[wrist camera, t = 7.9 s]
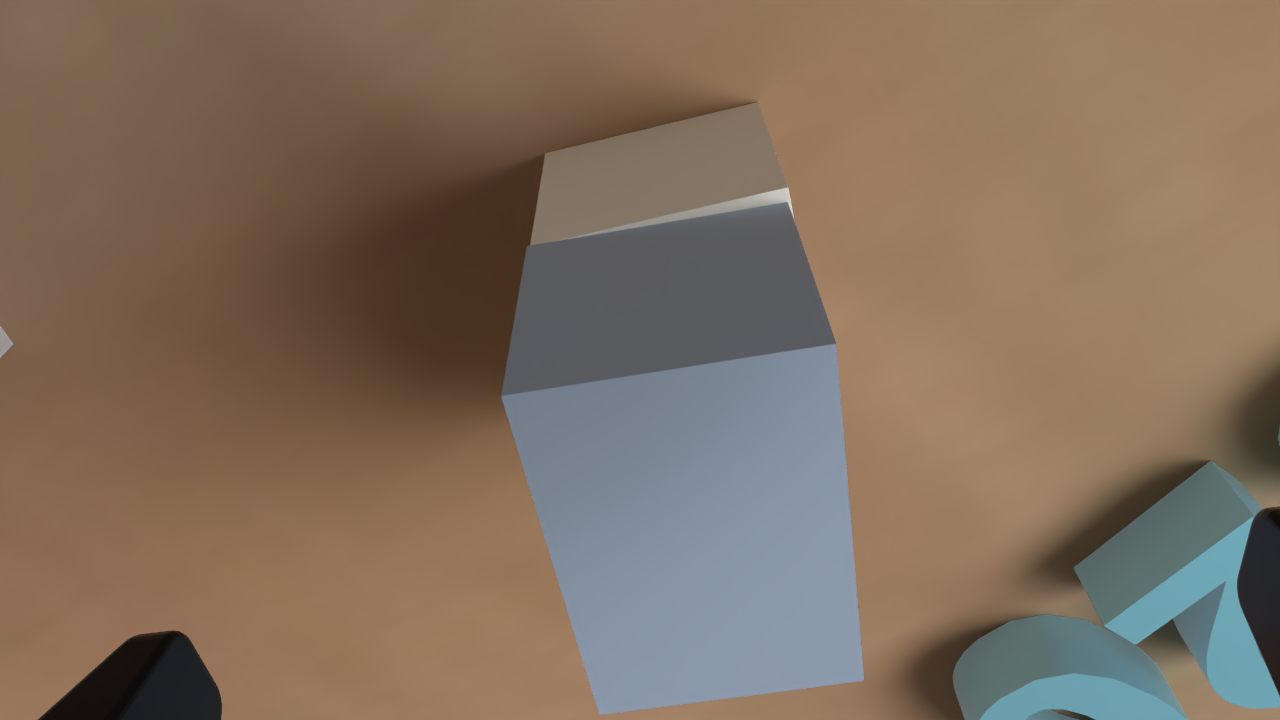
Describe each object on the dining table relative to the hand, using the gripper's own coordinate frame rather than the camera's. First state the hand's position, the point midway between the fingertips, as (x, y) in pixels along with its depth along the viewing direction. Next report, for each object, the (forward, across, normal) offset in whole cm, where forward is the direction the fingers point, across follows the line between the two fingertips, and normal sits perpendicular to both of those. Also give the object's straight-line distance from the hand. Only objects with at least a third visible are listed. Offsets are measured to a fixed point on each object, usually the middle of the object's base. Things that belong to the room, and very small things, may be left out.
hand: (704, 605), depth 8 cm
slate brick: (+8, 0, +3) cm, 8 cm away
